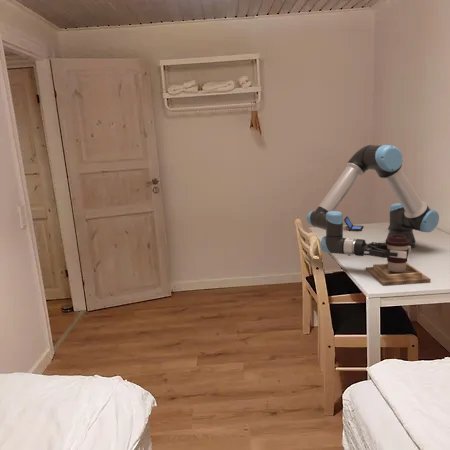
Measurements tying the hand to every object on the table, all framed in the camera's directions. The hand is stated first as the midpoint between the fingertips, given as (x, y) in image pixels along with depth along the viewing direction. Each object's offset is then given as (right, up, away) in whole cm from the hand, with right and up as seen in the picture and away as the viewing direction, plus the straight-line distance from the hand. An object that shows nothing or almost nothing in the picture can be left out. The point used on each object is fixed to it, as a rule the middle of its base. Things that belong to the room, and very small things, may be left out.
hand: (408, 252), depth 186 cm
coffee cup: (-3, -8, +4) cm, 10 cm away
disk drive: (+28, +7, +81) cm, 86 cm away
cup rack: (-3, -11, +5) cm, 12 cm away
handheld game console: (+4, +9, +93) cm, 94 cm away
